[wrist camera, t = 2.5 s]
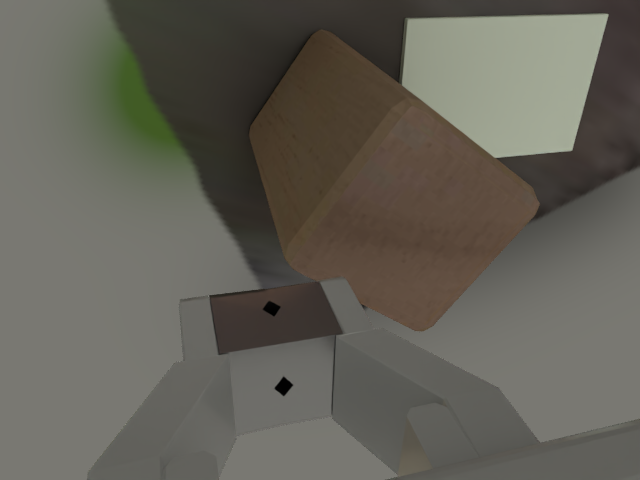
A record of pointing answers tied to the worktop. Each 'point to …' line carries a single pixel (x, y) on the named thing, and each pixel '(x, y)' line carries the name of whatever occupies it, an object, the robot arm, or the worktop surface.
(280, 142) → the wooden block
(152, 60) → the worktop surface
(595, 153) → the worktop surface
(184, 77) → the worktop surface
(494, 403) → the robot arm
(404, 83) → the mat
